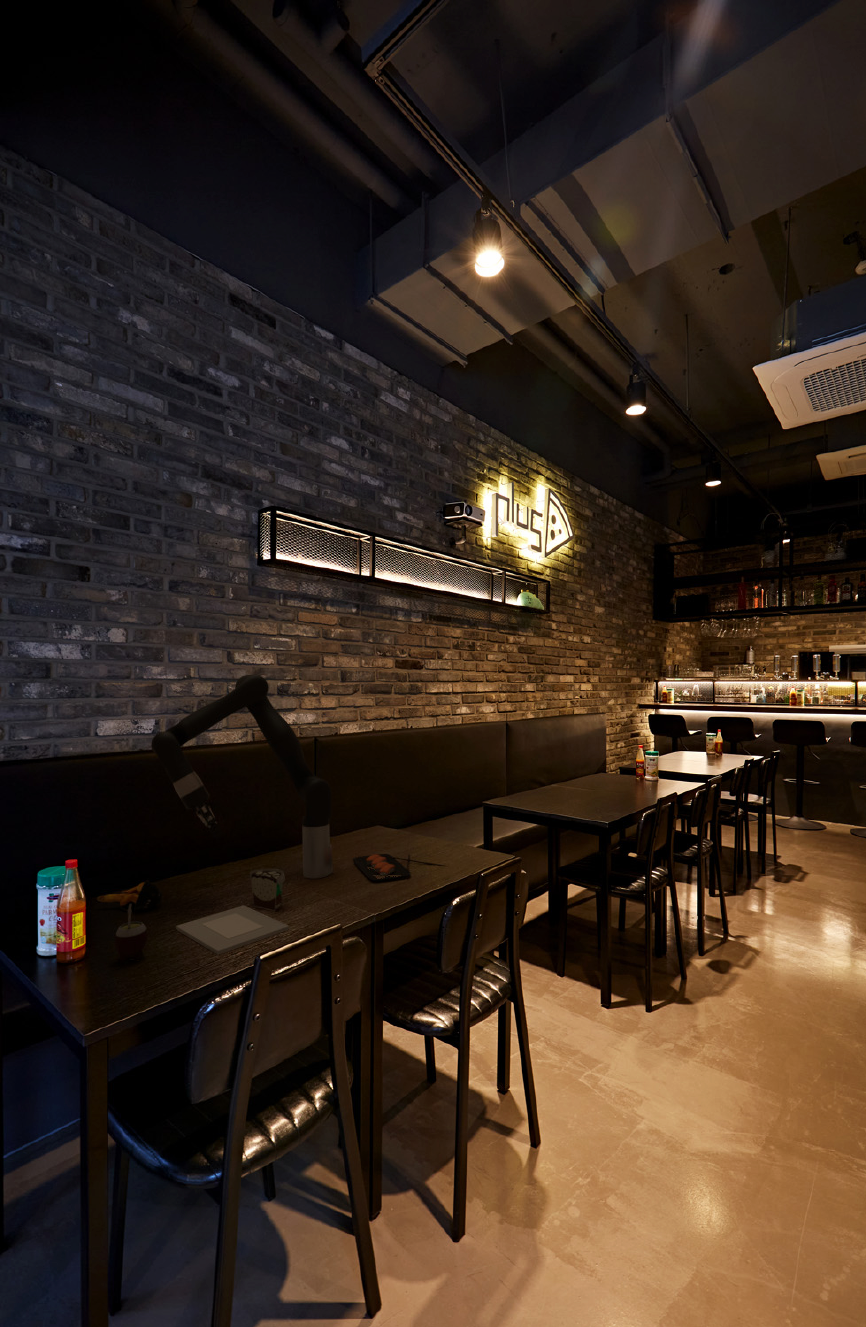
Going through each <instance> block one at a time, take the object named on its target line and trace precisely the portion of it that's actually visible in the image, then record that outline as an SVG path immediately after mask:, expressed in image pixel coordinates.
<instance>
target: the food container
mask: <svg viewBox="0 0 866 1327" xmlns="http://www.w3.org/2000/svg"><path fill="white" fill-rule="evenodd" d="M249 879H250V883H251V894H252V895H251V896H252V906H253V907H256V908H261V909H264V910H266V911H267V910H268V911H272V912H277V911H279V910H280V909H281V908H282V898H283V897H282V896H283V895H282V894H283V884H284V883H283V882H285V881H286V877H285V873H284V871H283V870H281V869H277V868H261V869H256V870H255V869H254V870H252V871H250V873H249Z"/></svg>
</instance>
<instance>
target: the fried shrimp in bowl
mask: <svg viewBox="0 0 866 1327" xmlns="http://www.w3.org/2000/svg"><path fill="white" fill-rule="evenodd" d="M162 896H163V892H162V891H161V890H160V889H159V887H158V886H157V884H154V883H153V882H151V881H149V879H146V880H145V881H144V882H140V883H139V884H138V885H137V886H133V887H132V888H130V889H128V890H124V891H121V892H120V893H113V894H105V895H100V896H98V897H97V898H96V900H97V902H102V903H115V902H119V906H120V909H121V910H123V911H126V912H128V909H129V904H132V906H131V910H132V911H135V912H136V911H142V910H143V911H145V910H146V911H147V910H149V909H151V908H152V907H158V906H159V905H160V903H161V902H162Z"/></svg>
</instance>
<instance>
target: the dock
mask: <svg viewBox="0 0 866 1327" xmlns="http://www.w3.org/2000/svg"><path fill="white" fill-rule="evenodd" d="M175 928H176V929H177V930H176V931H177V932H179V933H181V934H182V935H185V936H186V937H187V938H188V939H191V940H193V941H194V942H196V943H198V944H199V945H201V946H203V947H204V948H205V949H207V950H209V951H211V953H214V954H215V955H217V956H219V955H222V954H225V953H227V952H231V951H233V950H235V949H239V948H241V947H245V946H247V945H250V944H253V943H256V942H258V941H261V940H264V939H267V938H270V937H273V936H275V935H278V934H282V933H283V932H284V933H285V932H287V931H289V929H290V926H289V925H288V924H286V923H283V922H282V921H279V920H277V919H275V918H272V917H271V916H268V915H266V914H263V913H261V912H259V911H258V910H255V909H252V908H250V907H249V906H246V905H243V904H242V905H241V906H240V905H239V906H236V907H234V908H231V909H227V910H224V911H221V912H218V913H214V914H210V915H207V916H203V917H201V918H198V919H195V920H191V921H188V922H185V923H181V924H177V925H175Z"/></svg>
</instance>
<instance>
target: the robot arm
mask: <svg viewBox="0 0 866 1327" xmlns="http://www.w3.org/2000/svg"><path fill="white" fill-rule="evenodd" d="M269 686H270V685H269V683H268V681H267V679H265V678H264V677H263V676H261V675H258V674H246V675H242V676H241V677H239V678H238V679H237V681H236V682H235V688H234V689H233V690H231V691H230V692H229V693H227V694H226V695H224V696H222V697H220V698H218V699H216V700H215V701H212V702H211V703H208V704H206V705H204V706H201V707H200V708H198V709H196V710H195V711H193V712H191V713H189V714H188V715H187V716H185V717H183V718H182V719H181V720H179V721H178V722H177V723H176V724H175V725H173V726H172V727H170V728H168V729H167V730H163V731H160V732H157V733H156V734H155V735H154V736H153V738H152V740H151V743H150V744H151V745H150V746H151V750H152V751H153V753H154V754H155V755H157V757H158V758H159V761H160V763H162V765H163V768H164V770H165V772H166V774H167V776H168V778H169V780H170V782H171V784H172V785H173V788H174V790H175V792H176V793H177V795H178V797H179V799H180V800H181V802H182V804H183V805H184V807H185V809H186V810H192V809H193V808H195V811H196V812H195V813H196V816H197V817H198V818H199V819H200V821H201V822H202V823H203V824H204V826H205V827H207V829H208V831H209V833H210V834H211V836H212V837H213V838H214V837H215V839H218V838H220V837H221V836H222V835H223V831H222V830H221V828H220V827H219V825H218V823H217V819H216V817H215V815H214V813H213V811H212V809H211V807H210V805H208V804H205V801H207V800H208V799H209V798H211V797H210V793H209V792H208V790H207V788H206V787H205V785H204V783H203V782H202V779H201V778H200V777H199V775H198V773H196V772H195V770H194V768H193V766H192V764H191V763H190V761H189V760H188V758H187V757H186V755H185V753H184V751H183V749H182V746H184V745H185V744H186V743H188V742H189V741H191V740H193V739H196V738H197V737H198V736H201V735H202V734H203V733H205V732H206V731H208V730H209V729H212V727H214V726H216V725H217V724H219V723H220V722H222V721H223V720H224V719H226V718H227V717H229V716H231V715H233V714H234V713H236V712H238V711H240V710H242V709H244V708H246V709H247V710H248V712H249V713H250V714H251V716H252V718H254V720H255V722H256V724H257V726H258V728H259V730H260V731H261V734H262V735H263V737H264V739H265V740H266V742H267V744H268V745H269V747H270V749H271V750H272V753H273V754H274V755H275V757H276V758H277V760H278V761H279V763H280V764H281V766H282V767H283V769H284V770H285V771H286V772H287V774H288V775H289V777H290V779H291V781H292V783H293V785H294V788H295V789H296V792H297V794H298V796H299V798H300V800H302V801H303V802H304V803H305V814H304V815H303V816H302V819H301V824H302V825H301V828H302V829H301V830H302V831H301V832H302V868H303V869H302V873H303V875H302V876H303V878H305V879H321V878H322V879H323V878H326V877H328V876H330V875H331V874H333V873H334V870H333V869H334V868H333V864H334V863H333V845H332V844H331V843H330V842H331V839H330V818H331V815H332V788H331V785H330V783H329V782H328V781H327V780H325V779H323V778H319V777H318V776H316V774H315V773H314V772H313V770H312V769H311V767H310V766H309V765H308V762H307V761H306V758H305V755H304V750H303V748H302V744H301V741H300V740H299V738H298V736H297V734H296V733H295V731H294V729H293V728H292V727H291V725H290V724H289V723H288V722H287V720H286V719H285V718H284V717H283V716H282V715H281V714H280V713H279V712H278V711H277V710H276V709H275V707H274V706H273V705H272V703H271V701H270V700H269V697H268V696H267V695H268V692H269V690H270V689H269V688H270V687H269Z"/></svg>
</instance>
